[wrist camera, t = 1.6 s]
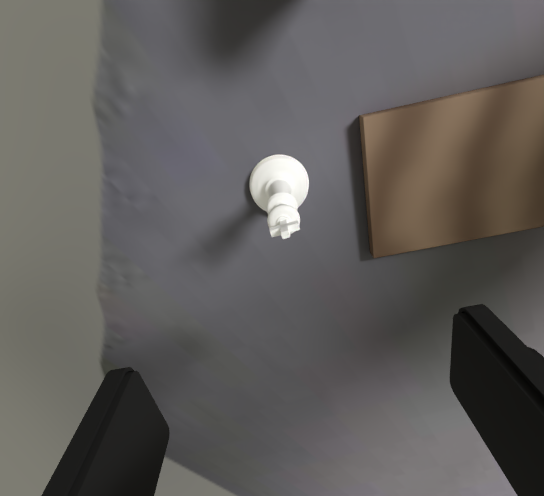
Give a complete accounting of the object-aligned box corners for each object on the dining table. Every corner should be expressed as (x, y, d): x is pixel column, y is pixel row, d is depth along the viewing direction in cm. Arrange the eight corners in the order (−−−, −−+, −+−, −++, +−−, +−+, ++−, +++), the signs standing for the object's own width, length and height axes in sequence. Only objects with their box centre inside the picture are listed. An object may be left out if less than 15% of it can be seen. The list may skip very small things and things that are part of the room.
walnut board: (609, 60, 23) (626, 58, 22) (574, 213, 29) (586, 218, 28) (359, 115, 25) (363, 116, 24) (370, 251, 30) (373, 258, 29)
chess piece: (241, 164, 26) (229, 206, 17) (300, 146, 26) (318, 180, 17) (259, 219, 28) (256, 281, 20) (314, 203, 28) (337, 260, 19)
